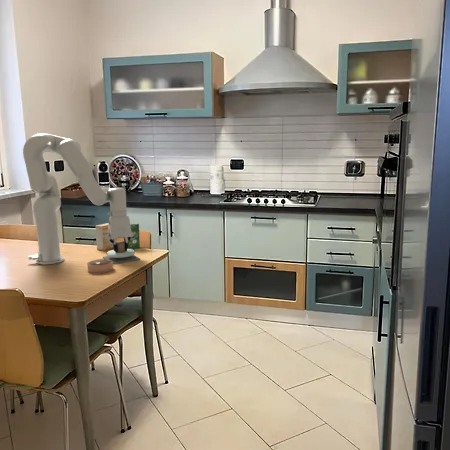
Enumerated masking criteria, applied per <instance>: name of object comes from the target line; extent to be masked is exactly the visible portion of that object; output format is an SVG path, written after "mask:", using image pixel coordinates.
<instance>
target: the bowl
mask: <svg viewBox="0 0 450 450" xmlns="http://www.w3.org/2000/svg"><path fill="white" fill-rule="evenodd" d="M86 265H87V272H88V273H89V274H94V275H95V274H107V273H110V272H112V271H113V270H114V264H113V261H112V260H109V259H104V258H101V259H100V258H99V259H94V260H89V261H88V262H86Z"/></svg>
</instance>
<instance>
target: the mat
mask: <svg viewBox="0 0 450 450" xmlns="http://www.w3.org/2000/svg"><path fill="white" fill-rule="evenodd" d="M102 259H109V260H112V261H113V265H117V264H123V263H130V262H137V261H141V258H139V257H138V256H136V255H135V254H134V255H132V256H129V257H124V258H112V257H108V256H107V255H106V256H102Z"/></svg>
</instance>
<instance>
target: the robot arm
mask: <svg viewBox="0 0 450 450" xmlns="http://www.w3.org/2000/svg"><path fill="white" fill-rule="evenodd" d="M81 150H82V149H81V146H80V143H79V142H78V141H77V140H74V139H71V138H67V137H62V136H59V135H54V134H50V133H37V134H34V135H32V136H30V137H29V138H28V139H27V140H26V141H25V142H24V145H23V149H22V153H23V155H22V156H23V159H24V163H25V164H24V165H25V168H26V172H27V177H28V181H29V187H30V189H31V190H32V191H33V192H34V193H36V194H38V195H39V197H38V198H36V199H35V201H34V203H33V206H32V207H33V208H32V209H33V214H34V219H35V227H36V234H37V237H36V238H37V244H38V245H37V247H38V251H37V253H36V254H34V255H28V260H29V261H30V260H32V261H36V264H37V265H46V266H47V265H54V264H60V263H62V262H64V261H65V257H64V256H61V255H62V254H61V247H60V235H59V234H60V233H59V224H58V216H57V212H58V211H59V209H60V208H61V207H62V201H61V195H60V191H59V186H58V182H57V179H56V177H55V175H53V173H52V172H49V171H48V170H47V166H46V165H47V164H46V161H45V158H44V155H43V154H44V153H51V154H56V155H60V157H61V158H62V160H63V161H64V162H65V164H66V165H67V166H68V167H69V169H70V171H71V172H72V173H73V175H74V176H75V178H76V181H77V182H78V184H79V186H80V187H81V189H82V191H83V193H84V194H85V195H86V197H87V198H88V200H90V201H91V203H92V204H93V205H95V206H102V205H104V204H106V203H109V211H108V212H107V216H109V218H108V223H109V225H108V234H107V236H106V238H105V239H107V240H109V241H110V242H112V243H113V248H112V250H114V251H115V252H116V253H117V252H118V246H117V244H116V242H117V241H118V240H117V239H123V241H125V251H127V249H128V241H129V240H130V239H131V238H132V237H133V236H134V234H133V233H132V231H131V225H130V224H131V219H130V216H129V215H128V214H127V197H126V196H127V194H126V193H127V192H126V189H125V188H124V187H105V186H103V187H102V186H101V185H100V184H99V182H97V180H96V178H95V176H94V173H93V168H92V166H91V163H90V162H89V161H88V160H87V158H86V157H85V155H84V154H83V153H82V151H81ZM110 237H111V238H112V239H110Z"/></svg>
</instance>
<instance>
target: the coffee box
mask: <svg viewBox="0 0 450 450" xmlns="http://www.w3.org/2000/svg"><path fill="white" fill-rule="evenodd" d="M130 225H131V231H132V233H133V234H134V236H133V237H132V238H131V239H130V240H129V241H128V249H132V250H134V249H139V248H140V246H141V245H140V242H141V241H140V224H139V223H135V222H134V223H130Z"/></svg>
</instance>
